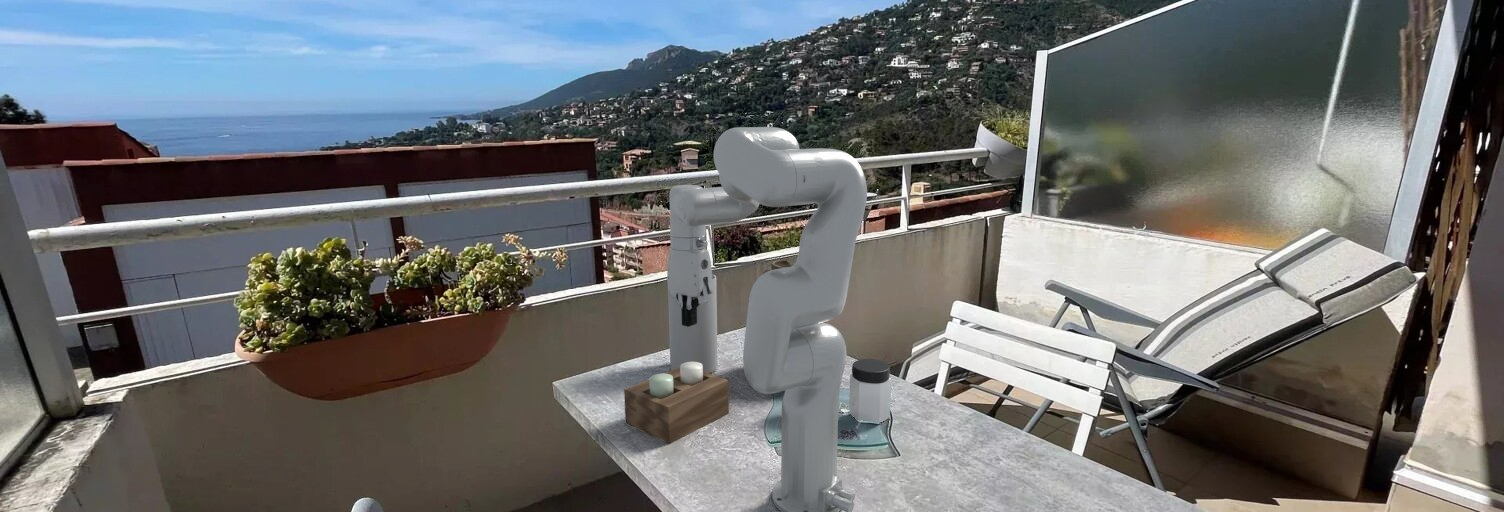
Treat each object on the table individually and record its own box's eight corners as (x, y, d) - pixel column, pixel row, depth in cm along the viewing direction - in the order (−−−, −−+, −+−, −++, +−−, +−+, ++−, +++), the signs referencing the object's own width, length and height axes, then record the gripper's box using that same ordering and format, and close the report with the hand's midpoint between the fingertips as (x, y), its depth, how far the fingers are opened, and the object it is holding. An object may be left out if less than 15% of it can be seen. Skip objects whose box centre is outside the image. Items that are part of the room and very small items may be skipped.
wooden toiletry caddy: (728, 413, 143) (728, 380, 142) (669, 443, 130) (668, 407, 128) (685, 396, 152) (684, 365, 151) (625, 423, 139) (624, 389, 137)
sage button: (678, 394, 136) (677, 377, 136) (660, 402, 133) (660, 384, 132) (662, 388, 140) (662, 371, 139) (645, 396, 136) (644, 378, 135)
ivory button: (707, 382, 143) (707, 365, 142) (691, 389, 139) (691, 371, 139) (691, 376, 146) (691, 360, 146) (676, 383, 143) (675, 366, 142)
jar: (843, 410, 145) (845, 360, 142) (875, 405, 147) (877, 356, 145) (861, 427, 136) (863, 375, 134) (895, 422, 139) (897, 370, 136)
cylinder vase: (721, 375, 165) (719, 282, 160) (672, 379, 162) (670, 284, 157) (713, 358, 177) (712, 271, 172) (668, 362, 174) (665, 273, 169)
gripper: (725, 245, 135) (726, 327, 139) (676, 236, 144) (678, 313, 148) (700, 250, 129) (701, 336, 133) (651, 241, 138) (653, 321, 142)
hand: (689, 324), depth 141 cm, fingers closed
